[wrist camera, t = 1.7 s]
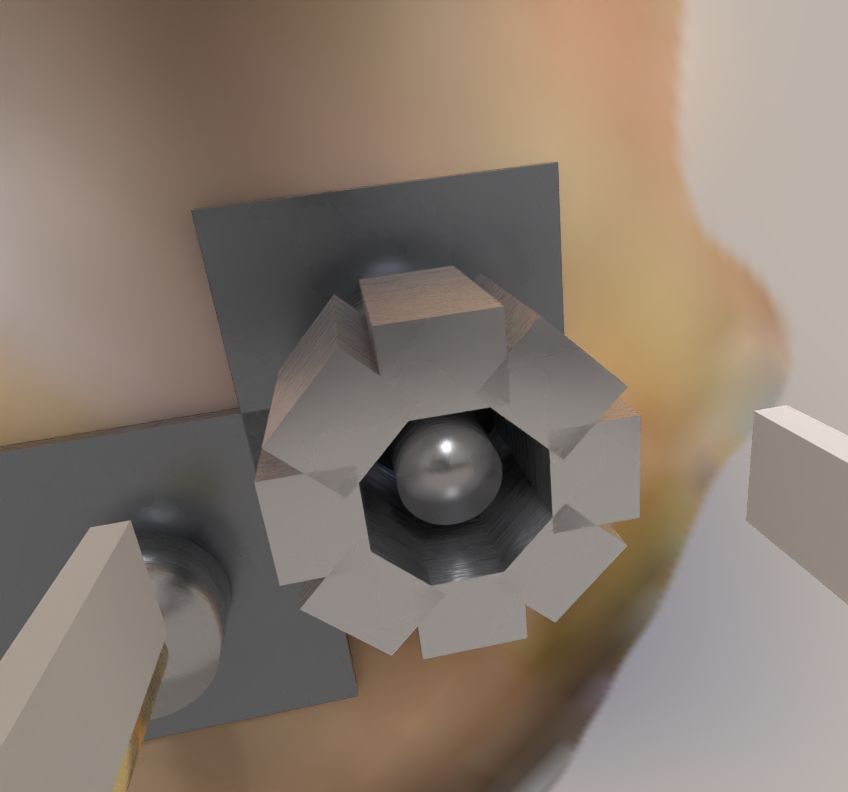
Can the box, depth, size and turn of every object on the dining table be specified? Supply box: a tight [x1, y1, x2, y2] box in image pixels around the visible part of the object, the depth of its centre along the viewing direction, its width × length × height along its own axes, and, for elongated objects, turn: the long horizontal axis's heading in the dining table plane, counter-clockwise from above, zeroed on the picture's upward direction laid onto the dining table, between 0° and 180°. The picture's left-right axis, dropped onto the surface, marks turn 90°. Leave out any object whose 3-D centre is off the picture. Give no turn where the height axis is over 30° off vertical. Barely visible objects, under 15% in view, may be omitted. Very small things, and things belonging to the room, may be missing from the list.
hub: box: [0, 408, 358, 792], centre depth 20 cm, size 14×14×10 cm
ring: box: [254, 266, 641, 659], centre depth 15 cm, size 8×8×5 cm
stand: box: [191, 162, 564, 525], centre depth 18 cm, size 12×12×10 cm
